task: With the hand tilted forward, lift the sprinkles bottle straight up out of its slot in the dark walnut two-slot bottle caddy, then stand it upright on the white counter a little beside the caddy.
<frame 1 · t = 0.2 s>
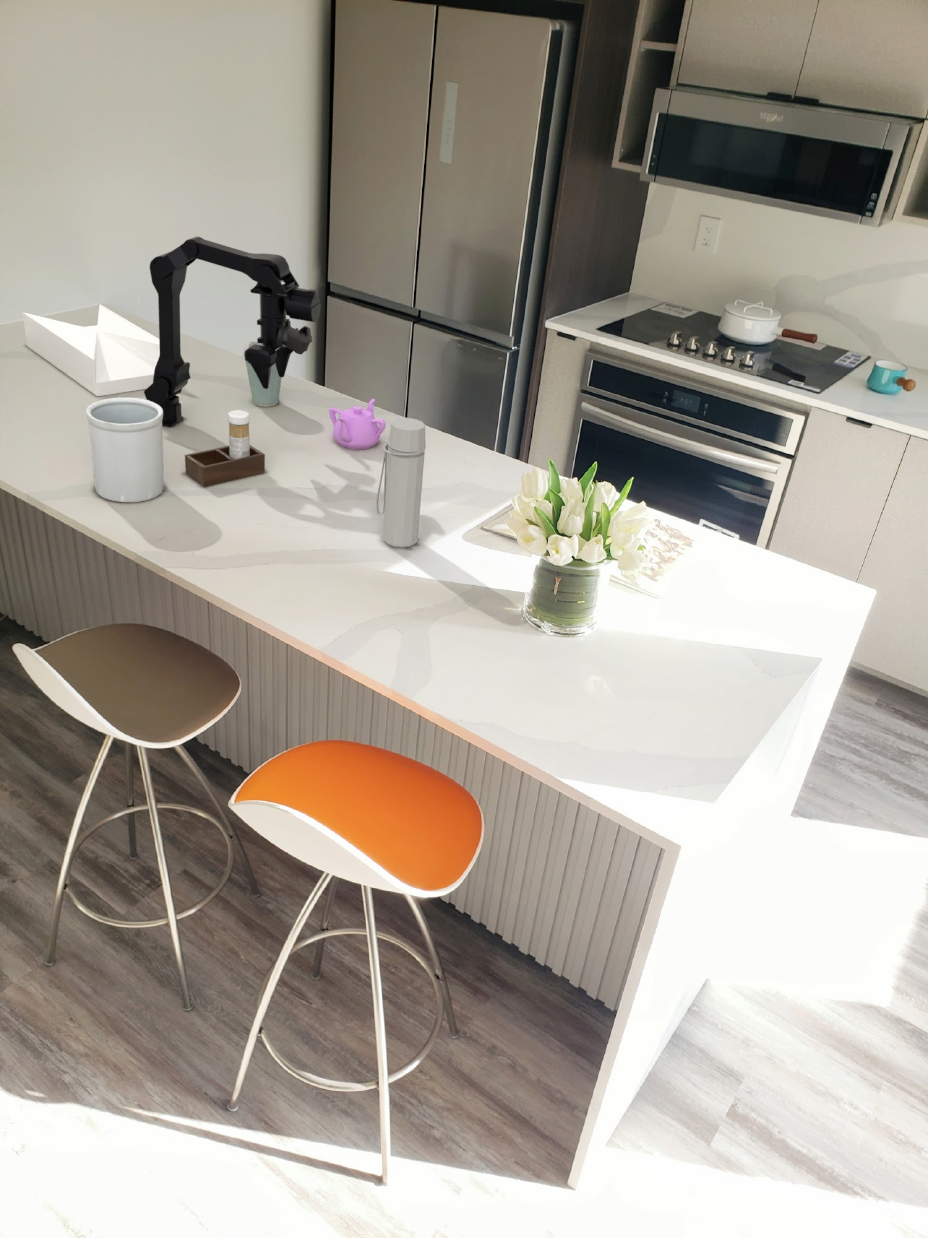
hand: (273, 382, 235), 15 cm above the worktop, tool pointing down, fingers open, 9 cm apart
white shallow tray: (100, 364, 276), on the worktop
bottle caddy: (225, 473, 224), on the worktop
teapot: (356, 442, 247), on the worktop
disposable coffee cup: (264, 403, 264), on the worktop
sprinkles bottle: (239, 470, 227), resting in bottle caddy
water bottle: (395, 541, 205), on the worktop
utensil holder: (131, 490, 213), on the worktop
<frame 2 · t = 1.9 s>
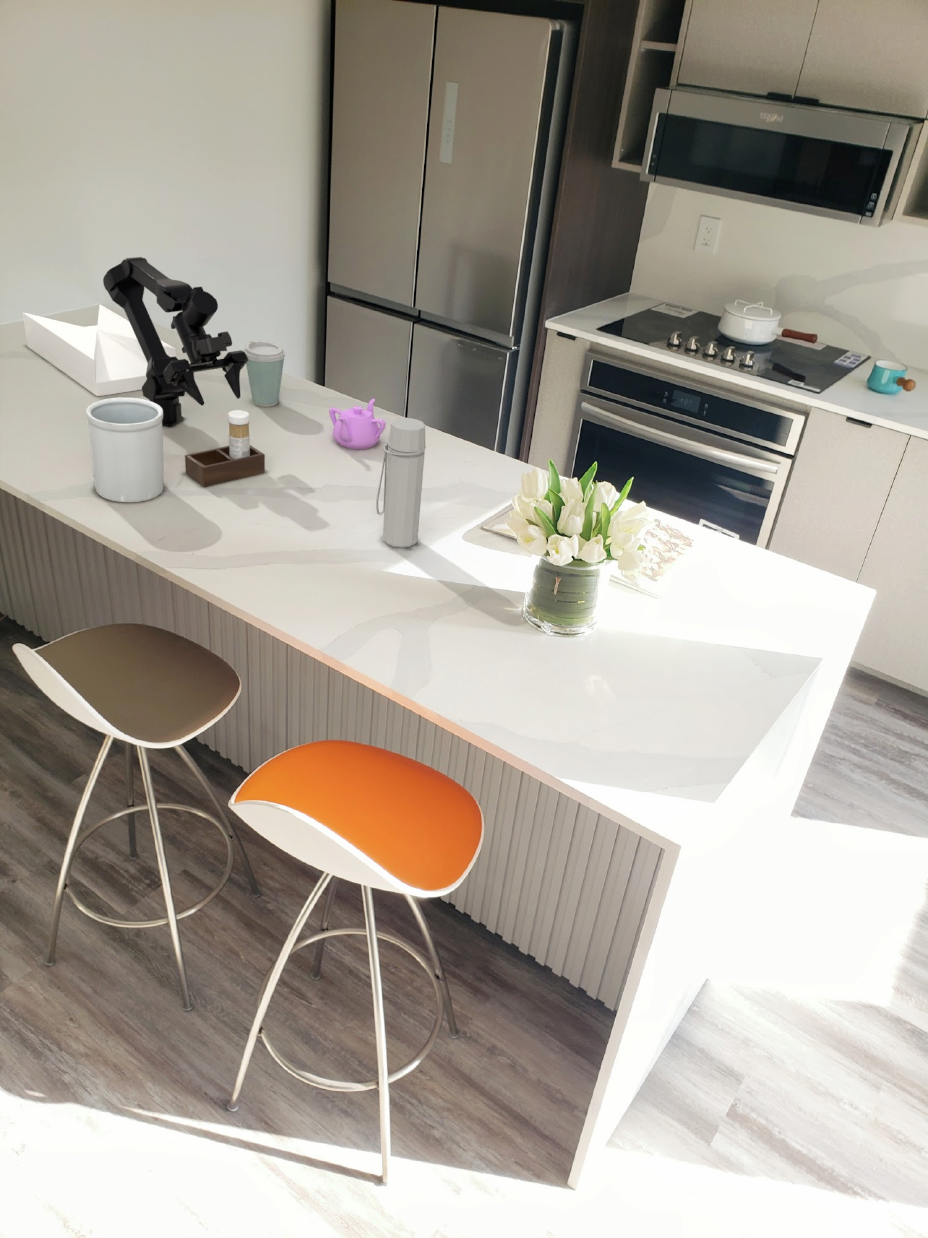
hand: (221, 401, 225), 13 cm above the worktop, tool tilted 45°, fingers open, 9 cm apart
nothing on the worktop moved.
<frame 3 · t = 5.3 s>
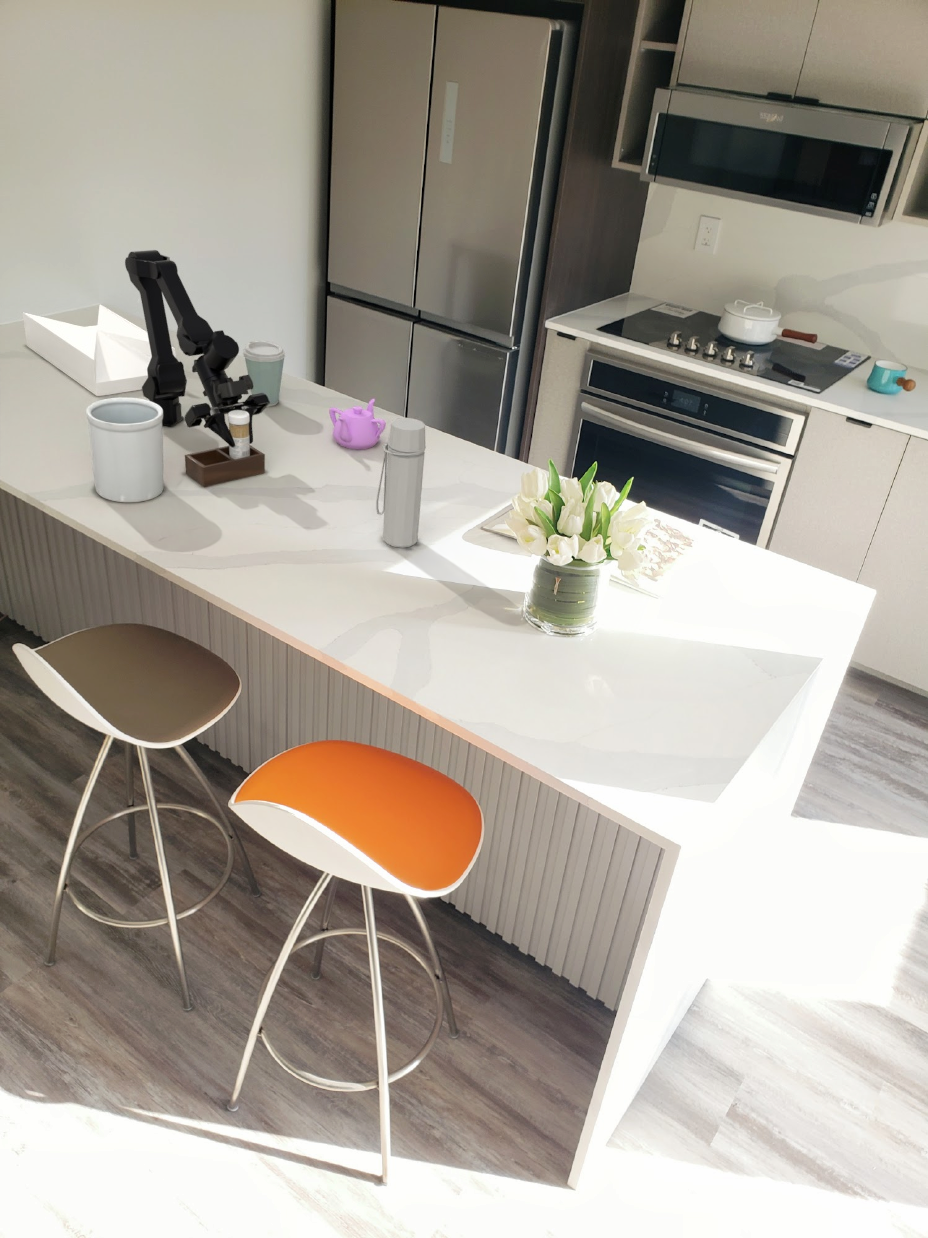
hand: (242, 444, 222), 7 cm above the worktop, tool tilted 45°, fingers closed on sprinkles bottle, 4 cm apart
sprinkles bottle: (239, 470, 227), resting in bottle caddy, touching gripper
everything else where it was.
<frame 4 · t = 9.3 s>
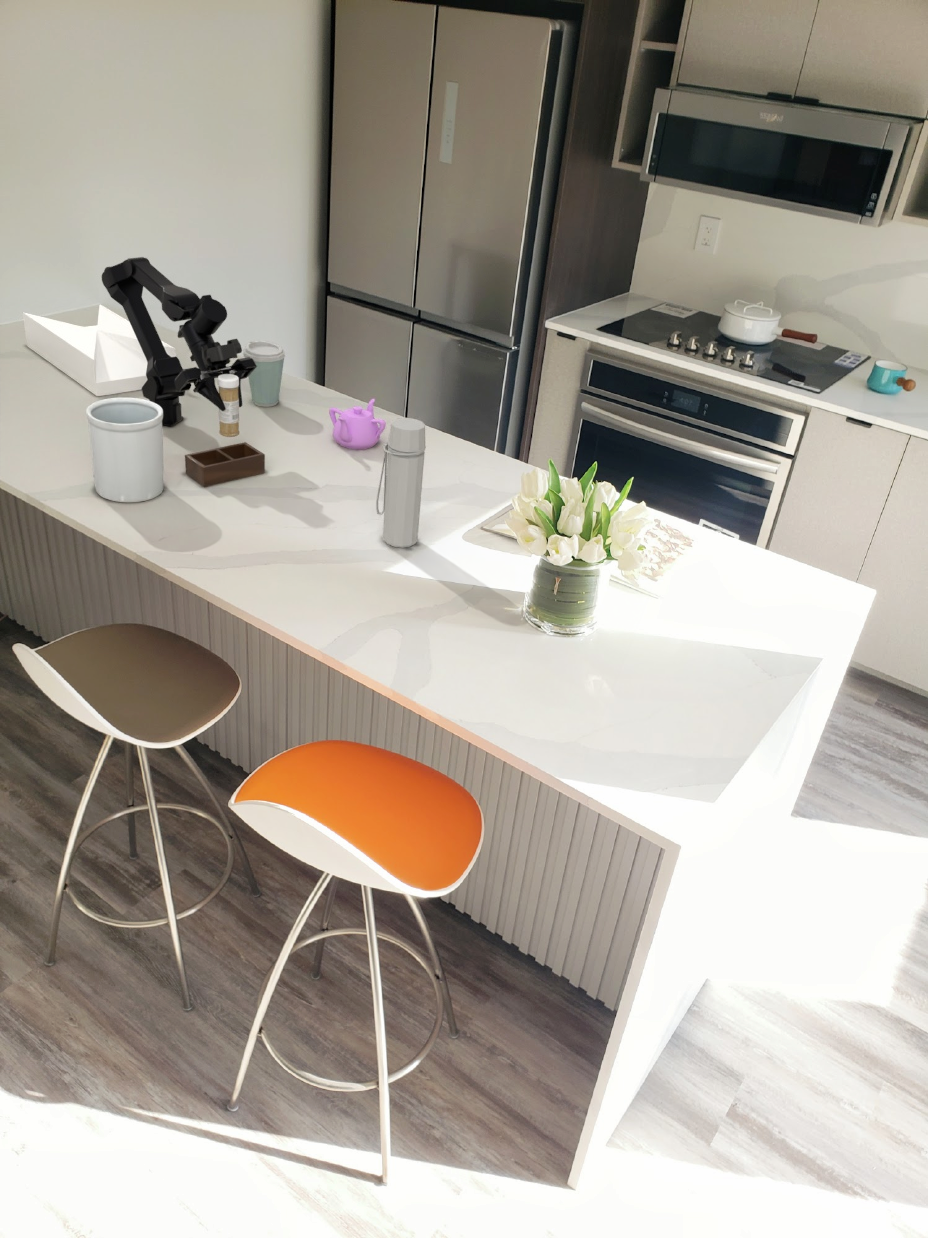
hand: (232, 408, 225), 12 cm above the worktop, tool tilted 45°, fingers closed on sprinkles bottle, 4 cm apart
sprinkles bottle: (229, 434, 230), point 5 cm above the worktop, touching gripper
everything else where it was.
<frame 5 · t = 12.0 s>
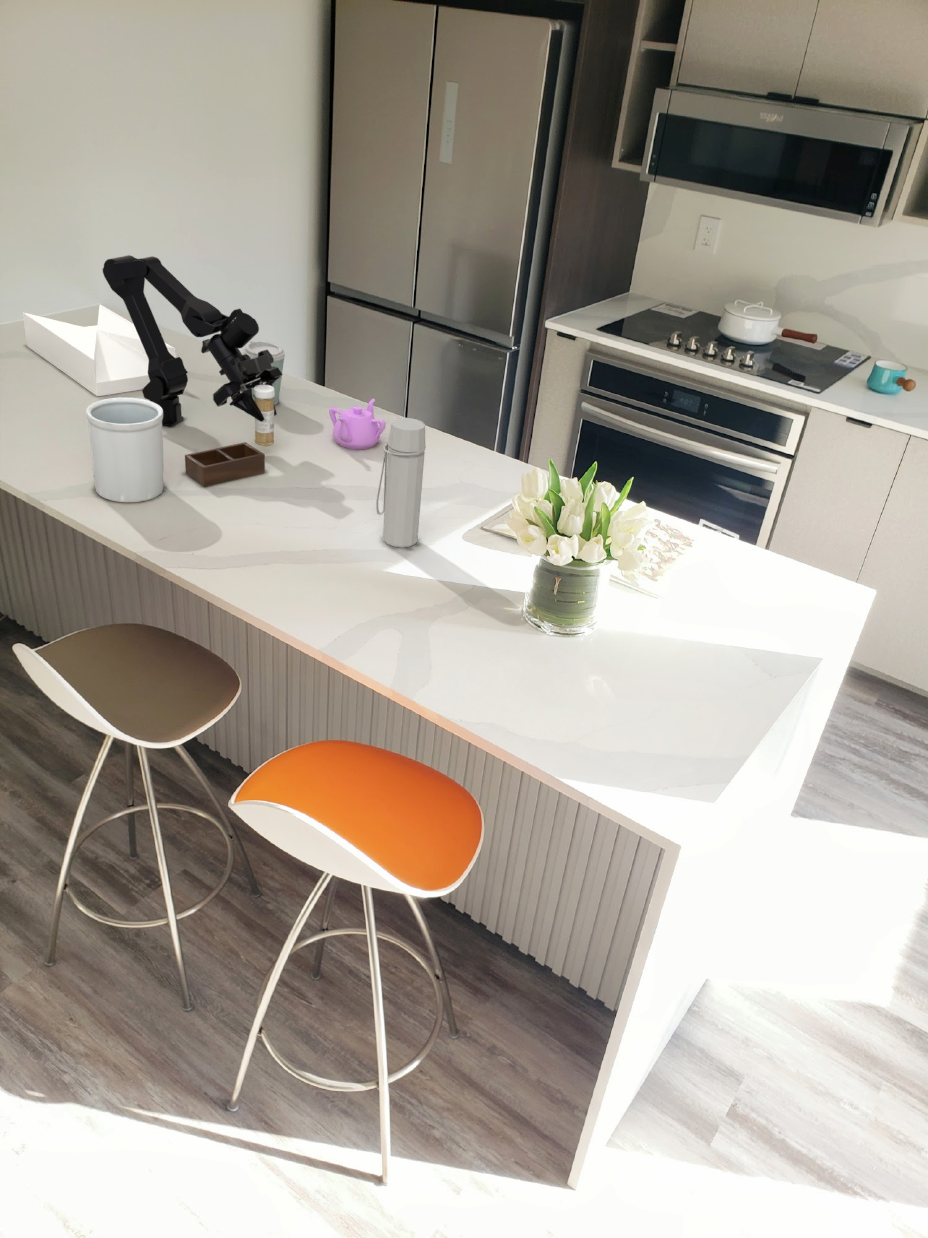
hand: (269, 417, 230), 9 cm above the worktop, tool tilted 45°, fingers closed on sprinkles bottle, 4 cm apart
sprinkles bottle: (264, 444, 234), point 2 cm above the worktop, touching gripper
everything else where it was.
when the fingers open (7 cm above the worktop, at t = 13.7 s): sprinkles bottle stays where it is, on the worktop.
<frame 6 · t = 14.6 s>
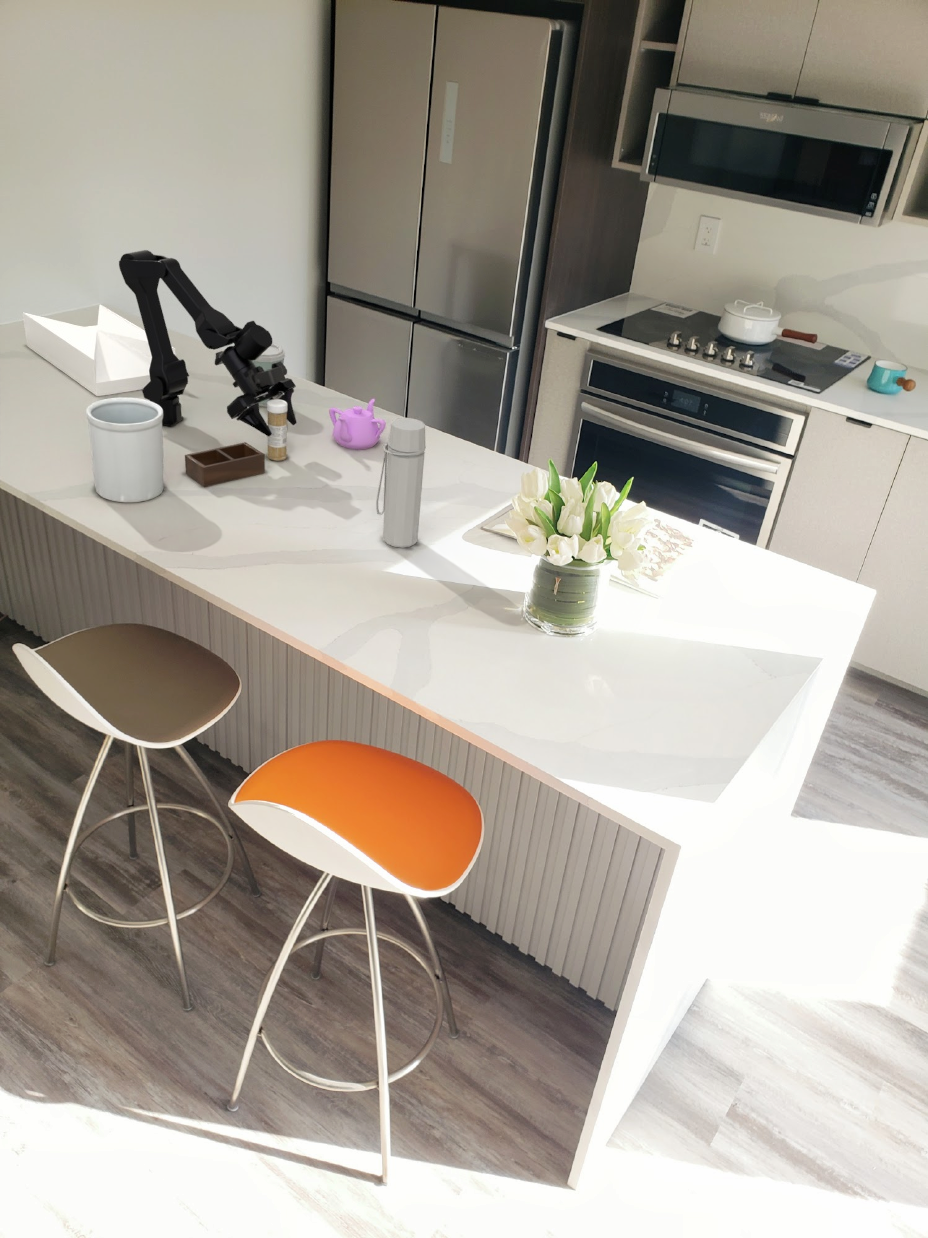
hand: (282, 429, 230), 7 cm above the worktop, tool tilted 45°, fingers open, 9 cm apart
sprinkles bottle: (277, 458, 234), on the worktop
everything else where it was.
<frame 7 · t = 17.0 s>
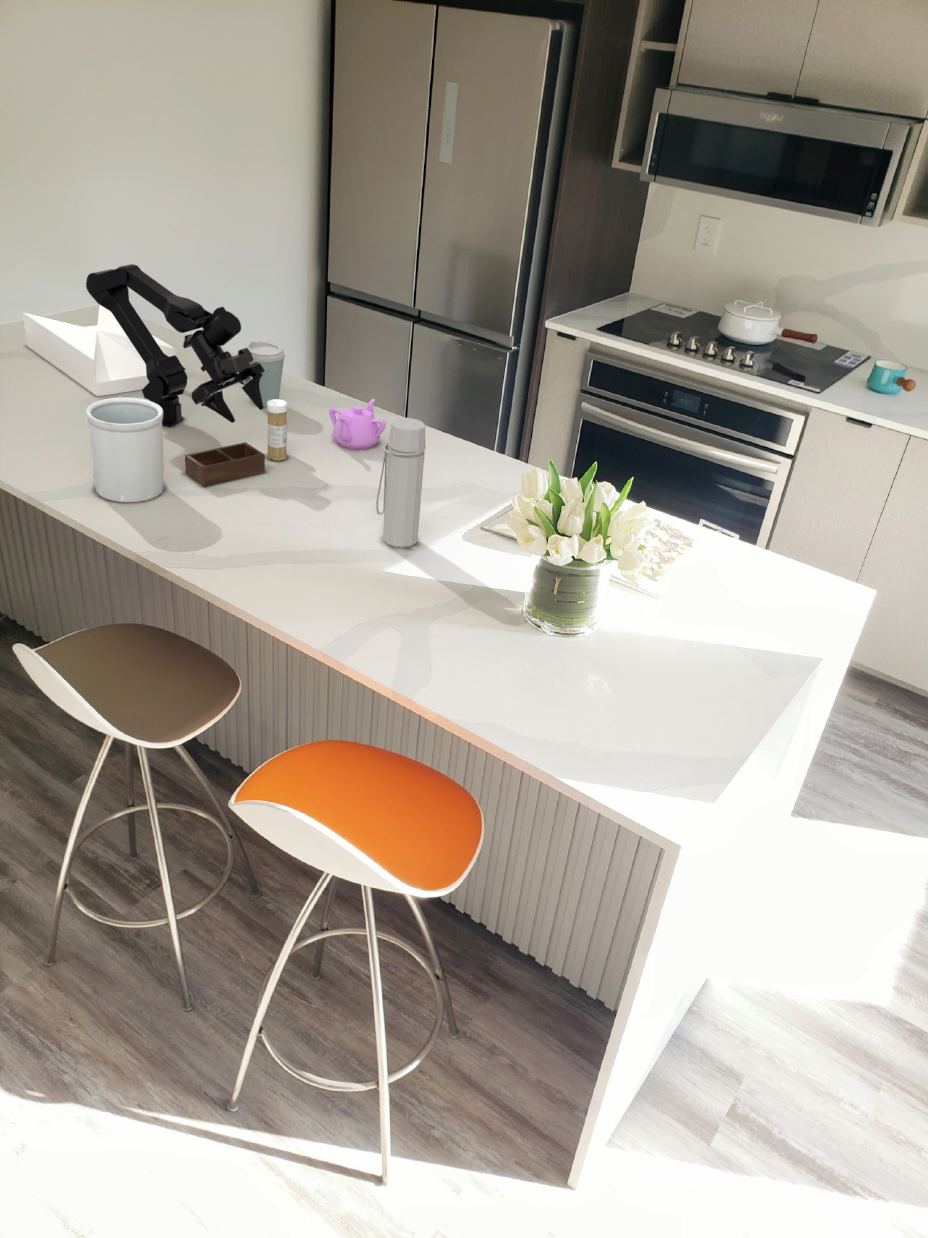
hand: (248, 415, 233), 8 cm above the worktop, tool tilted 40°, fingers open, 9 cm apart
nothing on the worktop moved.
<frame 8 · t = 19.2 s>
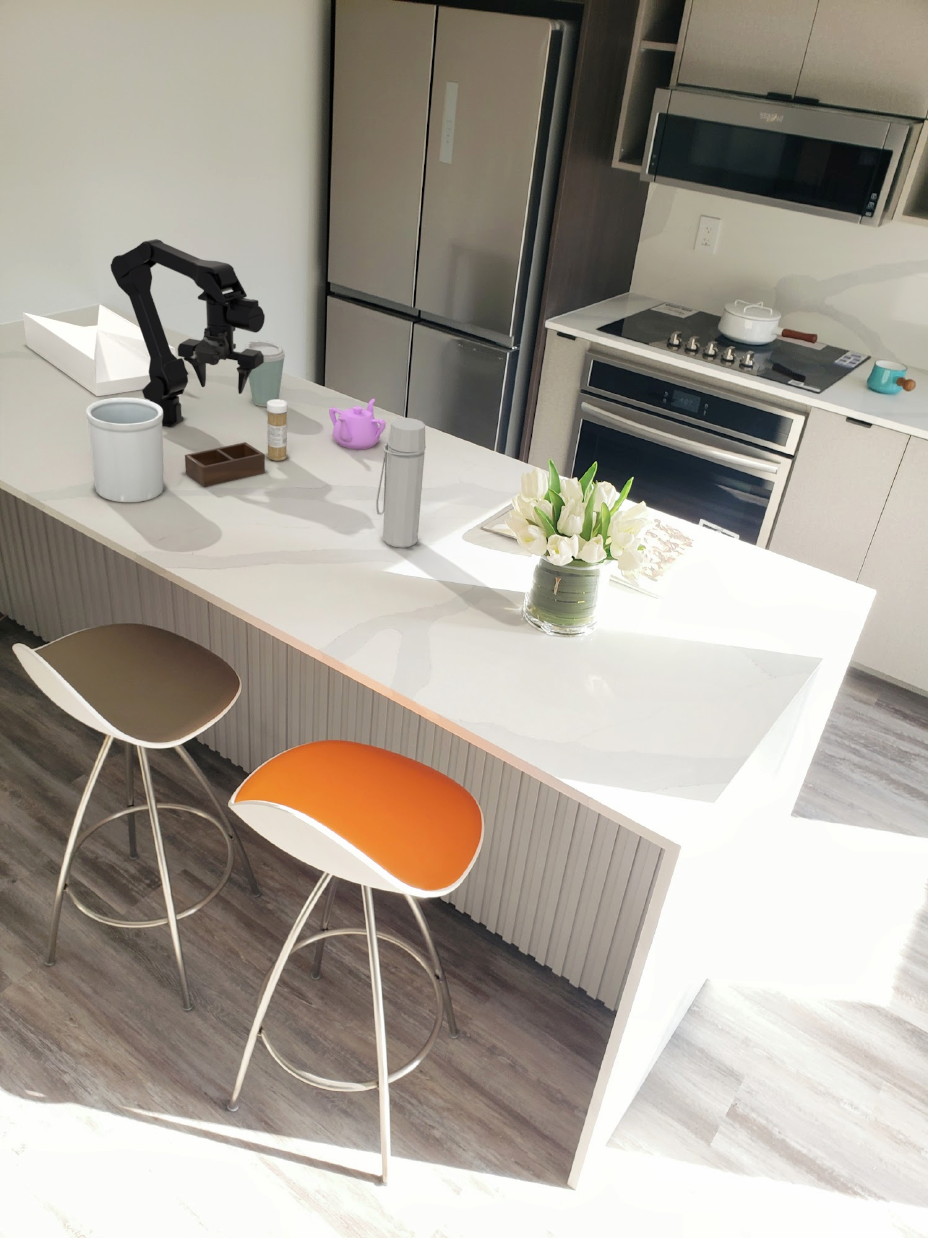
hand: (221, 390, 234), 12 cm above the worktop, tool pointing down, fingers open, 9 cm apart
nothing on the worktop moved.
at the end: sprinkles bottle inside the target area (0.2 cm from its centre), on the worktop; sprinkles bottle tilted 0°; the gripper is holding nothing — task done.
